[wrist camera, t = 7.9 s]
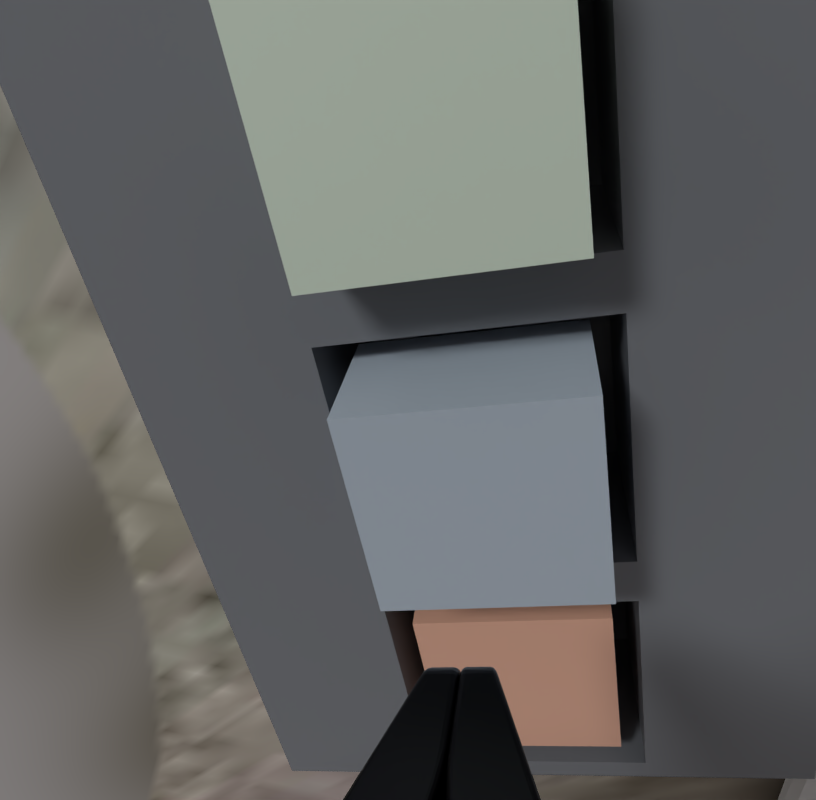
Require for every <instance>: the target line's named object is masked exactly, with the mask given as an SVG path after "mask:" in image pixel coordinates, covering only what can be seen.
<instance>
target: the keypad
mask: <svg viewBox="0 0 816 800" xmlns="http://www.w3.org/2000/svg"><path fill="white" fill-rule="evenodd" d="M578 15H579V31H580V47H581V62H582V78H583V94H584V109H585V125H586V141H587V156H588V172H589V188H590V204H591V219H592V235H593V251H594V258H591V259H583V260H576V261H568V262H560V263H552V264H544V265H536V266H528V267H520V268H512V269H504V270H496V271H488V272H480V273H472V274H464V275H456V276H448V277H440V278H432V279H424V280H416V281H408V282H400V283H393V284H385V285H377V286H369V287H361V288H353V289H345V290H337V291H329V292H321V293H313V294H305V295H297V296H292V295H291V291H290V288H289V284H288V280H287V277H286V273H285V270H284V266H283V263H282V259H281V256H280V252H279V248H278V245H277V241H276V238H275V234H274V231H273V227H272V224H271V220H270V217H269V213H268V209H267V206H266V202H265V199H264V195H263V192H262V188H261V185H260V181H259V177H258V174H257V170H256V167H255V163H254V160H253V156H252V153H251V149H250V145H249V142H248V138H247V135H246V131H245V128H244V124H243V121H242V117H241V114H240V110H239V106H238V103H237V99H236V96H235V92H234V89H233V85H232V82H231V78H230V74H229V71H228V67H227V64H226V60H225V57H224V53H223V50H222V46H221V42H220V39H219V35H218V32H217V28H216V25H215V21H214V18H213V14H212V10H211V7H210V3H209V0H0V85H1V88H2V90H3V92H4V95H5V97H6V99H7V102H8V104H9V106H10V109H11V111H12V113H13V116H14V118H15V120H16V123H17V125H18V128H19V130H20V132H21V135H22V137H23V139H24V142H25V144H26V146H27V149H28V151H29V153H30V156H31V158H32V160H33V163H34V165H35V167H36V170H37V172H38V175H39V177H40V179H41V182H42V184H43V186H44V189H45V191H46V193H47V196H48V198H49V200H50V203H51V205H52V207H53V210H54V212H55V214H56V217H57V219H58V221H59V224H60V226H61V229H62V231H63V233H64V236H65V238H66V240H67V243H68V245H69V247H70V250H71V252H72V254H73V257H74V259H75V261H76V264H77V266H78V268H79V271H80V273H81V276H82V278H83V280H84V283H85V285H86V287H87V290H88V292H89V294H90V297H91V299H92V301H93V304H94V306H95V308H96V311H97V313H98V315H99V318H100V320H101V323H102V325H103V327H104V330H105V332H106V334H107V337H108V339H109V341H110V344H111V346H112V348H113V351H114V353H115V355H116V358H117V360H118V362H119V365H120V367H121V370H122V372H123V374H124V377H125V379H126V381H127V384H128V386H129V388H130V391H131V393H132V395H133V398H134V400H135V402H136V405H137V407H138V409H139V412H140V414H141V416H142V419H143V421H144V424H145V426H146V428H147V431H148V433H149V435H150V438H151V440H152V442H153V445H154V447H155V449H156V452H157V454H158V456H159V459H160V461H161V463H162V466H163V468H164V471H165V473H166V475H167V478H168V480H169V482H170V485H171V487H172V489H173V492H174V494H175V496H176V499H177V501H178V503H179V506H180V508H181V510H182V513H183V515H184V518H185V520H186V522H187V525H188V527H189V529H190V532H191V534H192V536H193V539H194V541H195V543H196V546H197V548H198V550H199V553H200V555H201V557H202V560H203V562H204V564H205V567H206V569H207V572H208V574H209V576H210V579H211V581H212V583H213V586H214V588H215V590H216V593H217V595H218V597H219V600H220V602H221V604H222V607H223V609H224V611H225V614H226V616H227V619H228V621H229V623H230V626H231V628H232V630H233V633H234V635H235V637H236V640H237V642H238V644H239V647H240V649H241V651H242V654H243V656H244V658H245V661H246V663H247V666H248V668H249V670H250V673H251V675H252V677H253V680H254V682H255V684H256V687H257V689H258V691H259V694H260V696H261V698H262V701H263V703H264V705H265V708H266V710H267V712H268V715H269V717H270V720H271V722H272V724H273V727H274V729H275V731H276V734H277V736H278V738H279V741H280V743H281V745H282V748H283V750H284V752H285V755H286V757H287V759H288V762H289V764H290V767H291V769H292V771H348V772H361V770H362V769H363V767H364V766H365V764H366V762H367V761H368V759H369V758H370V756H371V754H372V753H373V751H374V750H375V748H376V746H377V745H378V743H379V742H380V740H381V738H382V737H383V735H384V734H385V732H386V730H387V729H388V727H389V726H390V724H391V722H392V721H393V719H394V718H395V716H396V714H397V713H398V711H399V710H400V708H401V706H402V705H403V703H404V702H405V700H406V698H407V697H408V695H409V694H410V692H411V690H412V689H413V687H414V686H415V684H416V682H417V681H418V679H419V678H420V676H421V675H422V673H423V672H424V667H423V663H422V659H421V655H420V651H419V647H418V643H417V639H416V635H415V631H414V627H413V618H414V612H415V610H407V611H380V607H379V604H378V600H377V597H376V593H375V590H374V586H373V582H372V579H371V575H370V572H369V568H368V565H367V561H366V558H365V554H364V550H363V547H362V543H361V540H360V536H359V533H358V529H357V526H356V522H355V518H354V515H353V511H352V508H351V504H350V501H349V497H348V494H347V490H346V487H345V483H344V479H343V476H342V472H341V469H340V465H339V462H338V458H337V455H336V451H335V447H334V444H333V440H332V437H331V433H330V430H329V426H328V423H327V418H328V416H329V413H330V411H331V408H332V406H333V404H334V401H335V399H336V397H337V394H338V392H339V390H340V387H341V385H342V383H343V380H344V378H345V375H346V373H347V371H348V368H349V366H350V364H351V361H352V359H353V357H354V354H355V352H356V349H357V347H358V345H359V344H365V343H374V342H383V341H393V340H402V339H411V338H420V337H429V336H438V335H448V334H457V333H466V332H475V331H484V330H493V329H503V328H512V327H521V326H530V325H539V324H548V323H558V322H567V321H576V320H585V319H590V324H591V330H592V336H593V342H594V348H595V353H596V359H597V365H598V371H599V377H600V382H601V388H602V394H603V407H604V423H605V439H606V454H607V470H608V486H609V501H610V517H611V533H612V549H613V564H614V580H615V596H616V604H611V610H612V618H613V632H614V647H615V661H616V676H617V691H618V706H619V720H620V735H621V747H610V746H522V747H523V750H524V753H525V756H526V758H527V761H528V764H529V767H530V770H531V773H532V775H594V776H655V777H717V778H778V779H815V774H816V0H578Z"/></svg>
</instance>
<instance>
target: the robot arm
mask: <svg viewBox="0 0 816 800" xmlns="http://www.w3.org/2000/svg"><path fill="white" fill-rule="evenodd" d="M343 800H541V799H540V796H539V794H538V791H537V788H536V785H535V782H534V779H533V776H532V773H531V770H530V767H529V764H528V761H527V758H526V756H525V753H524V750H523V747H522V744H521V741H520V738H519V735H518V732H517V729H516V726H515V723H514V720H513V717H512V715H511V712H510V709H509V706H508V703H507V700H506V697H505V694H504V691H503V688H502V685H501V682H500V679H499V677H498V674H497V671H496V670H495V669H494V668H493V667H465V668H463V669H462V671H461V672H460V670H459V669H458V668H455V667H431V668H428V669H426V670H425V671H424V672H423V673H422V675H421V676H420V678H419V679H418V681H417V682H416V684H415V686H414V687H413V689H412V690H411V692H410V694H409V695H408V697H407V698H406V700H405V702H404V703H403V705H402V706H401V708H400V710H399V711H398V713H397V714H396V716H395V718H394V719H393V721H392V722H391V724H390V726H389V727H388V729H387V730H386V732H385V734H384V735H383V737H382V738H381V740H380V742H379V743H378V745H377V746H376V748H375V750H374V751H373V753H372V754H371V756H370V758H369V759H368V761H367V762H366V764H365V766H364V767H363V769H362V770H361V772H360V774H359V775H358V777H357V778H356V780H355V782H354V783H353V785H352V786H351V788H350V790H349V791H348V793H347V794H346V796H345V797H344V799H343Z"/></svg>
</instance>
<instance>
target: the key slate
mask: <svg viewBox="0 0 816 800" xmlns="http://www.w3.org/2000/svg"><path fill="white" fill-rule="evenodd" d="M327 423H328V426H329V430H330V433H331V437H332V440H333V444H334V447H335V451H336V455H337V458H338V462H339V465H340V469H341V472H342V476H343V479H344V483H345V487H346V490H347V494H348V497H349V501H350V504H351V508H352V511H353V515H354V518H355V522H356V526H357V529H358V533H359V536H360V540H361V543H362V547H363V550H364V554H365V558H366V561H367V565H368V568H369V572H370V575H371V579H372V582H373V586H374V590H375V593H376V597H377V600H378V604H379V607H380V611H407V610H439V609H472V608H505V607H537V606H570V605H603V604H616V596H615V580H614V564H613V549H612V533H611V517H610V501H609V486H608V470H607V454H606V439H605V423H604V407H603V394H602V388H601V382H600V377H599V371H598V365H597V359H596V353H595V348H594V342H593V336H592V330H591V324H590V319H585V320H576V321H567V322H558V323H548V324H539V325H530V326H521V327H512V328H503V329H493V330H484V331H475V332H466V333H457V334H448V335H438V336H429V337H420V338H411V339H402V340H393V341H383V342H374V343H365V344H359V345H358V347H357V349H356V352H355V354H354V357H353V359H352V361H351V364H350V366H349V368H348V371H347V373H346V375H345V378H344V380H343V383H342V385H341V387H340V390H339V392H338V394H337V397H336V399H335V401H334V404H333V406H332V408H331V411H330V413H329V416H328V418H327Z"/></svg>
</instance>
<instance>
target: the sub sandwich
mask: <svg viewBox="0 0 816 800" xmlns="http://www.w3.org/2000/svg"><path fill="white" fill-rule="evenodd" d="M778 800H816V774H815V779H785V781H784V784H783V787H782V789H781V792H780V795H779V797H778Z"/></svg>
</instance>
